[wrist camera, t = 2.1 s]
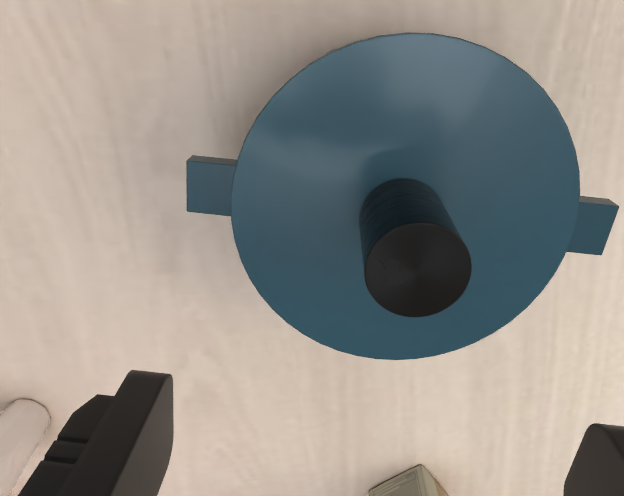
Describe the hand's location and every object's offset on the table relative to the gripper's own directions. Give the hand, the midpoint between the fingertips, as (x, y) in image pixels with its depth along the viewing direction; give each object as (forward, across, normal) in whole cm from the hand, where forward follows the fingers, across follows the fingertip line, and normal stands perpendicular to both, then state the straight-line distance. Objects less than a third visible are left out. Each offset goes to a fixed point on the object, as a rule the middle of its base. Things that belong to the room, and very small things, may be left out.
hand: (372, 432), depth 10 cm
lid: (+14, -2, 0) cm, 14 cm away
